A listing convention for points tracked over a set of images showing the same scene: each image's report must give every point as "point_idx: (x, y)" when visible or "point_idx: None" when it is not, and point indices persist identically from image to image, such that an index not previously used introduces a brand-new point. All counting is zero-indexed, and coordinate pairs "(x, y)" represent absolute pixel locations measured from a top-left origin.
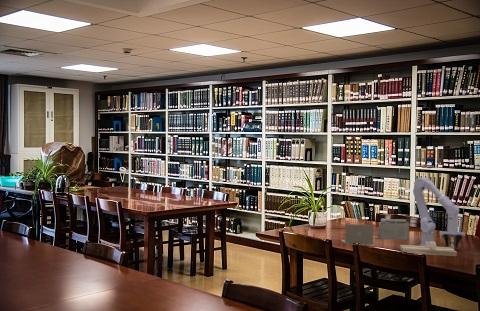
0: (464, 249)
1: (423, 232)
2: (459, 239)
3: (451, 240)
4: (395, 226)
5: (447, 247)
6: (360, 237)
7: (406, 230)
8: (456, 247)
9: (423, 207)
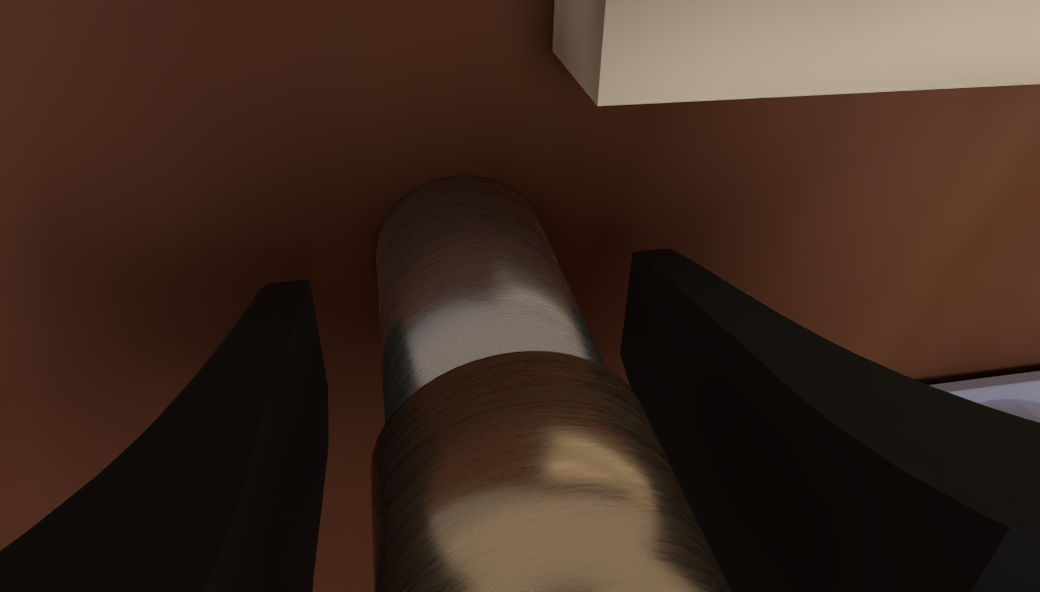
0: (14, 495)
1: None
2: (50, 557)
3: (612, 445)
4: None
5: (777, 12)
6: None
7: None
8: (302, 281)
9: None
